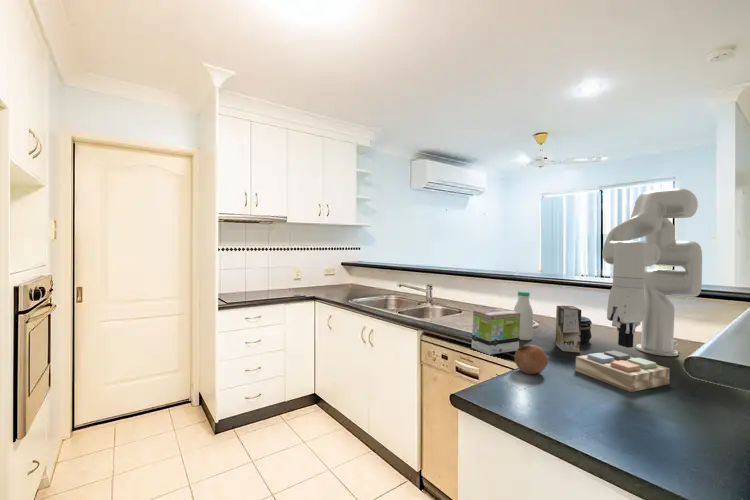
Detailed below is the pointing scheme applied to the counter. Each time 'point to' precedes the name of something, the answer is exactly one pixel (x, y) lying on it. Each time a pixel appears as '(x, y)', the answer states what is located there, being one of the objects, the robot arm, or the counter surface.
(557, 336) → the coffee box
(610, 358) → the key pale blue
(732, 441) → the counter surface
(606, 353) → the key charcoal
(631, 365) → the key terracotta
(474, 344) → the tea box
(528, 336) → the milk bottle
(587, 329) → the container
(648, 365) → the key sage
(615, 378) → the wooden puzzle board
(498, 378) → the counter surface
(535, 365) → the onion
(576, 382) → the counter surface
